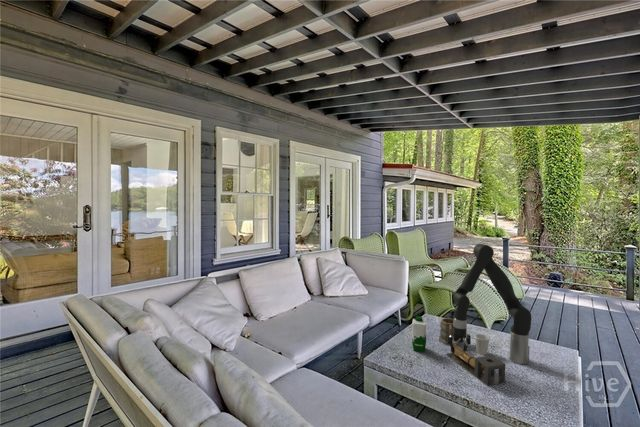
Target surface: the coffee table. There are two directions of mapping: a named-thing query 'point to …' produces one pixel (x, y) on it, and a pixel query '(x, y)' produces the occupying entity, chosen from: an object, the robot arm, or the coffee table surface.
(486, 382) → the dark grey holder
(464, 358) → the tube
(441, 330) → the tankard
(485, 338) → the dixie cup
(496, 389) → the coffee table surface
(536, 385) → the coffee table surface
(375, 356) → the coffee table surface
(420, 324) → the milk carton
